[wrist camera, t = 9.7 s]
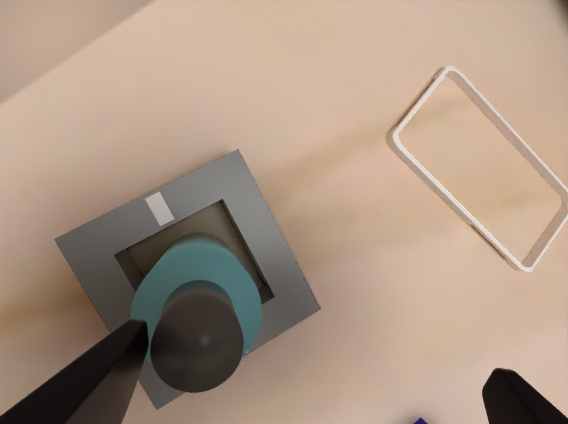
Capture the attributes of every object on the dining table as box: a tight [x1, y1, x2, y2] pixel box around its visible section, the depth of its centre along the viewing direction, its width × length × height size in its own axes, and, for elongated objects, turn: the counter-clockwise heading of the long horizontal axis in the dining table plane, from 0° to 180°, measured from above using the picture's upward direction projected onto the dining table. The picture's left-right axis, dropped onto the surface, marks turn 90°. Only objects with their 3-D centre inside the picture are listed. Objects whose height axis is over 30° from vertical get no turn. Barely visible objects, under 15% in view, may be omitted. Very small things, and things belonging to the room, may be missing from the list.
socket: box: [54, 149, 321, 410], centre depth 21 cm, size 10×10×3 cm
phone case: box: [387, 65, 568, 273], centre depth 26 cm, size 7×1×15 cm
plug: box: [130, 233, 261, 393], centre depth 16 cm, size 4×4×13 cm
